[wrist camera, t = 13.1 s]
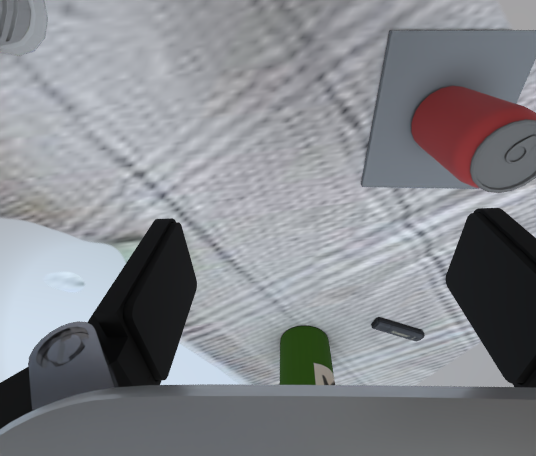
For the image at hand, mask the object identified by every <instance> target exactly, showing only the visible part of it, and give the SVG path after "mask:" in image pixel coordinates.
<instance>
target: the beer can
mask: <svg viewBox="0 0 536 456" xmlns="http://www.w3.org/2000/svg"><path fill="white" fill-rule="evenodd" d="M411 132H412V135H413V138H414V140H415V141H416V143H417V144H418V145H419V146H420V147H421V148H422V149H424V150H425V151H426V152H427V153H428V154H429V155H431V156H432V157H433V158H434V159H435V160H436V161H438V162H439V163H440V164H441V165H442V166H443V167H444V168H446V169H447V170H448V171H449V172H450V173H451V174H453V175H454V176H455V177H456V178H457V179H458V180H460V181H461V182H463V183H465V184H468V185H470V186H472V187H475V188H481V189H483V190H485V191H487V192H495V193H501V192H507V191H512V190H514V189H517V188H519V187H522V186H524V185H526V184H527V183H529V182H530V181H532V180H533V179H535V178H536V113H535V112H533V111H532V110H530V109H528V108H526V107H524V106H521V105H518V104H515V103H512V102H508V101H505V100H502V99H499V98H496V97H493V96H490V95H487V94H484V93H481V92H477V91H474V90H471V89H468V88H465V87H460V86H449V87H445V88H441V89H439V90H437V91H436V92H434V93H432V94H430V95H429V96H428V97H427V98H426V99H425V100H424V101H423V102H421V104H420V105H419V107H418V108H417V110H416V111H415V114H414V117H413V120H412V130H411Z"/></svg>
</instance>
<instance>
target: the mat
mask: <svg viewBox="0 0 536 456" xmlns="http://www.w3.org/2000/svg"><path fill="white" fill-rule="evenodd" d="M535 59H536V30H466V31H390V32H389V37H388V42H387V48H386V53H385V58H384V64H383V69H382V74H381V80H380V85H379V90H378V96H377V101H376V106H375V112H374V117H373V122H372V128H371V133H370V138H369V144H368V149H367V154H366V160H365V165H364V170H363V176H362V181H361V185H362V187H399V188H461V189H479V188H475V187H472V186H470V185H468V184H465V183H463V182H461V181H460V180H458V179H457V178H456V177H455V176H454V175H453V174H451V173H450V172H449V171H448V170H447V169H446V168H444V167H443V166H442V165H441V164H440V163H439V162H438V161H436V160H435V159H434V158H433V157H432V156H431V155H429V154H428V153H427V152H426V151H425V150H424V149H422V148H421V147H420V146H419V145H418V144H417V143H416V141H415V140H414V138H413V135H412V132H411V130H412V120H413V117H414V114H415V111H416V110H417V108H418V107H419V105H420V104H421V102H423V101H424V100H425V99H426V98H427V97H428V96H429V95H430V94H432V93H434V92H436V91H437V90H439V89H441V88H445V87H449V86H460V87H465V88H468V89H471V90H474V91H477V92H481V93H484V94H487V95H490V96H493V97H496V98H499V99H502V100H505V101H508V102H512V103H515V104H516V103H517V100H518V98H519V96H520V94H521V91H522V89H523V87H524V84H525V82H526V80H527V77H528V75H529V73H530V70H531V68H532V66H533V64H534V61H535Z"/></svg>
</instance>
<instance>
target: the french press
mask: <svg viewBox="0 0 536 456" xmlns="http://www.w3.org/2000/svg"><path fill="white" fill-rule="evenodd" d="M47 19H48V17H47V13H46V8H45V3H44V0H0V53H5V54H11V55H16V56H20V55H24V54H27V53H30V52H33V51H35V50H36V49H37V47H38V46H39V45H40V43H41V42H42V41H43V40H44V38H45V33H46V26H47Z"/></svg>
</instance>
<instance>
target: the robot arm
mask: <svg viewBox="0 0 536 456" xmlns="http://www.w3.org/2000/svg"><path fill="white" fill-rule="evenodd" d="M446 284H447V287H448V288H449V290H450V292H451V293H452V295H453V296H454V298H455V300H456V301H457V303H458V304H459V306H460V308H461V309H462V311H463V312H464V314H465V316H466V317H467V319H468V320H469V322H470V324H471V325H472V327H473V328H474V330H475V332H476V333H477V335H478V337H479V338H480V340H481V341H482V343H483V345H484V346H485V348H486V349H487V351H488V352H489V354H490V356H491V357H492V359H493V361H494V362H495V364H496V365H497V367H498V369H499V370H500V372H501V373H502V375H503V377H504V378H505V379H506V380H507V381H508V382H510V383H512V384H513V385H514V387H455V386H453V387H451V386H368V385H160V383H161V380H165V379H166V378H167V376H168V374H169V371H170V368H171V365H172V361H173V359H174V356H175V353H176V350H177V347H178V344H179V341H180V338H181V335H182V332H183V329H184V325H185V322H186V319H187V316H188V313H189V310H190V307H191V304H192V301H193V298H194V295H195V292H196V288H197V281H196V277H195V273H194V269H193V266H192V262H191V259H190V255H189V251H188V248H187V244H186V241H185V237H184V233H183V230H182V226H181V224H180V223H176V221H175V220H174V219H156V220H155V221H154V222H153V224H152V225H151V227H150V228H149V230H148V231H147V233H146V234H145V236H144V237H143V239H142V240H141V242H140V243H139V245H138V246H137V248H136V249H135V251H134V252H133V254H132V256H131V257H130V259H129V260H128V262H127V263H126V265H125V266H124V268H123V269H122V271H121V272H120V274H119V275H118V277H117V278H116V280H115V282H114V283H113V284H112V286H111V287H110V289H109V290H108V292H107V294H106V295H105V297H104V298H103V300H102V301H101V303H100V304H99V306H98V307H97V309H96V310H95V312H94V313H93V315H92V316H91V318H90V319H89V321H88V322H73V323H69V324H66V325H63V326H61V327H59V328H57V329H55V330H53V331H52V332H50V333H49V334H48V335H46V336H45V337H44V338H43V339H41V340H40V342H39V343H38V344H37V345H36V346H35V347H34V349H33V351H32V353H31V355H30V357H29V363H28V366H29V367H27V368H25V369H24V370H22V371H20V372H19V373H17V374H15V375H13V376H11V377H10V378H8V379H6V380H5V381H3V382H1V383H0V456H536V238H535V237H534V236H533V235H531V234H530V233H529V232H528V231H527V230H525V229H524V228H523V227H522V226H521V225H520V224H518V223H517V222H516V221H515V220H514V219H513V218H511V217H510V216H509V215H508V214H507V213H506V212H504V211H503V210H502V209H500V208H480V209H476V210H475V211H474V213H471V214H470V215H469V216H468V218H467V220H466V223H465V226H464V228H463V231H462V234H461V236H460V239H459V242H458V245H457V247H456V250H455V253H454V255H453V258H452V261H451V264H450V266H449V269H448V272H447V274H446Z"/></svg>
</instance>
